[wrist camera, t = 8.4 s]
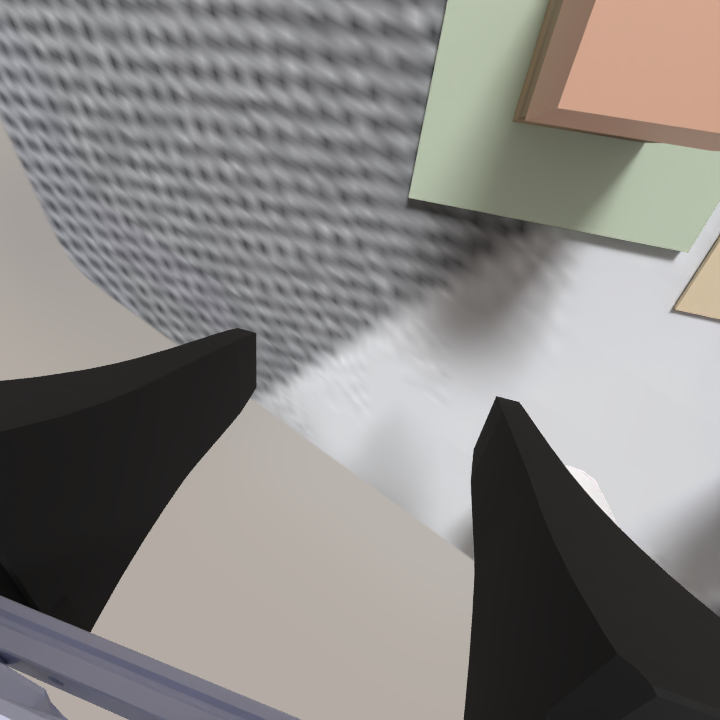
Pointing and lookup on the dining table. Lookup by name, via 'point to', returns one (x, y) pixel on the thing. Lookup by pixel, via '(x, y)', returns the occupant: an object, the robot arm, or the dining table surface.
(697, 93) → the terracotta block
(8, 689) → the robot arm
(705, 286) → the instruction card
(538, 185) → the plate
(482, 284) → the dining table surface
